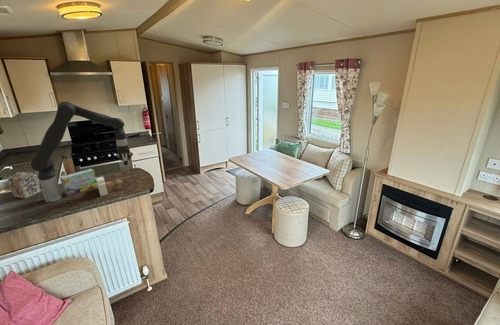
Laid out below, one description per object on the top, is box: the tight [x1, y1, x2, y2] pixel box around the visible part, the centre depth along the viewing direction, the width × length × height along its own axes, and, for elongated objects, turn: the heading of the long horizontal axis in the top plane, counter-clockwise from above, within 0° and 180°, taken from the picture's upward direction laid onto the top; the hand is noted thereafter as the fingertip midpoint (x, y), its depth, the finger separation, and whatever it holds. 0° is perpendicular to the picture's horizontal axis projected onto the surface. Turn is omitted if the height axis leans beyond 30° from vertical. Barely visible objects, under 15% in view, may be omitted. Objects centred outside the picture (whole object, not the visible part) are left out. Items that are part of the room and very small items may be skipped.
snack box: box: [59, 168, 98, 197], centre depth 182 cm, size 21×6×15 cm, turn 143°
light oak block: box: [105, 178, 125, 193], centre depth 188 cm, size 12×8×6 cm, turn 125°
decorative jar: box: [7, 171, 42, 199], centre depth 176 cm, size 12×12×18 cm
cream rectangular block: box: [96, 176, 109, 197], centre depth 182 cm, size 5×16×9 cm, turn 35°
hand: (126, 165), depth 189 cm, fingers closed
